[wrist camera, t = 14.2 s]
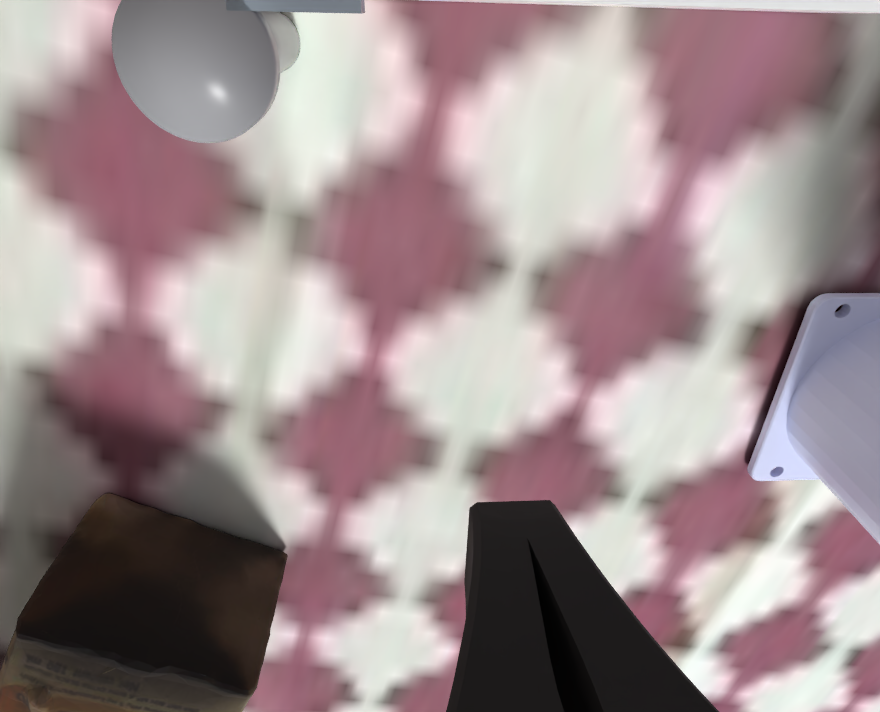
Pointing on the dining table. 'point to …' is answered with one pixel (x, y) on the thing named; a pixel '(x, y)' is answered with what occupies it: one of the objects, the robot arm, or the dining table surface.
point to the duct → (809, 3)
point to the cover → (204, 61)
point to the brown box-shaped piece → (144, 618)
